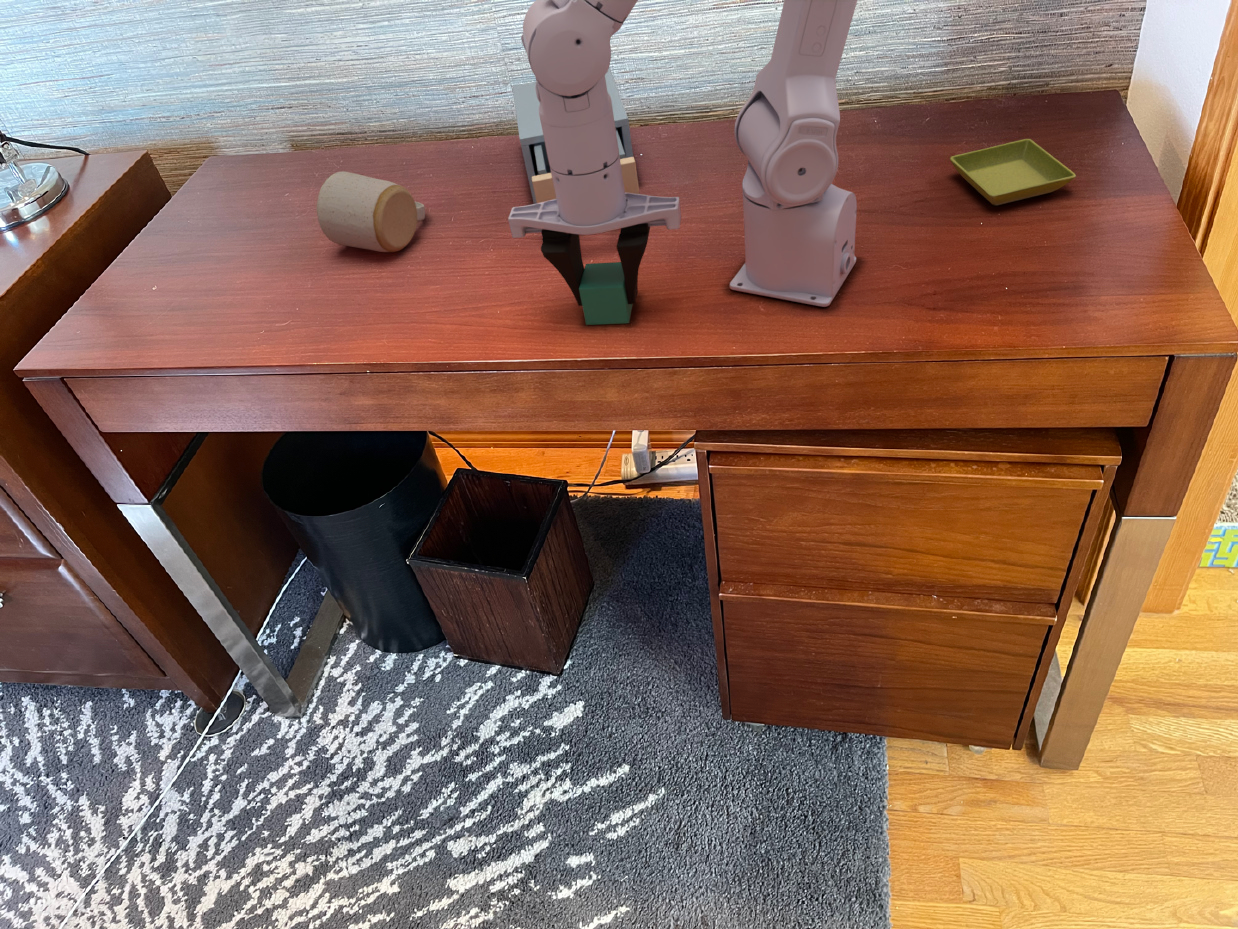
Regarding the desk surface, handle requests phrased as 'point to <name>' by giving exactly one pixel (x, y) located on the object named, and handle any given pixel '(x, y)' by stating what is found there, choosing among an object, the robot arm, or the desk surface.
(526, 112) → the grey cabinet
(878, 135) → the desk surface
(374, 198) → the ceramic mug
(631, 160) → the drawer
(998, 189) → the olive green square dish
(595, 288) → the green cube
